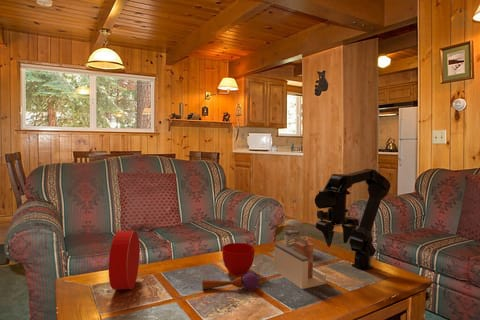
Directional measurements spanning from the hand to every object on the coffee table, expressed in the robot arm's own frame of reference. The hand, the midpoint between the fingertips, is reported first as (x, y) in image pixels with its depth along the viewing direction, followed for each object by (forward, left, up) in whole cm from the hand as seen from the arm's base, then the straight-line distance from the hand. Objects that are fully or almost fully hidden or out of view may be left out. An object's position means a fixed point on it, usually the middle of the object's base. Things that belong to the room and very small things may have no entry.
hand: (337, 244), depth 134 cm
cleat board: (+15, -6, -12) cm, 20 cm away
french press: (-4, -30, -12) cm, 33 cm away
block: (+15, -3, -11) cm, 19 cm away
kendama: (+43, -10, -12) cm, 46 cm away
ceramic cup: (+32, -23, -12) cm, 41 cm away
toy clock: (+75, -30, -12) cm, 82 cm away
